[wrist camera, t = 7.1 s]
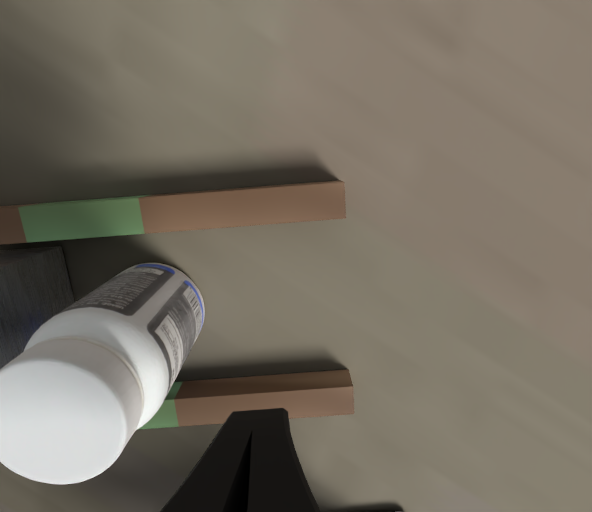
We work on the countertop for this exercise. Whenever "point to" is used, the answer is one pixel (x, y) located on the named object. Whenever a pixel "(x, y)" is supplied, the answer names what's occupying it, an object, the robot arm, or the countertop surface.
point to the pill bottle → (97, 374)
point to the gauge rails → (193, 216)
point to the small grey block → (30, 295)
